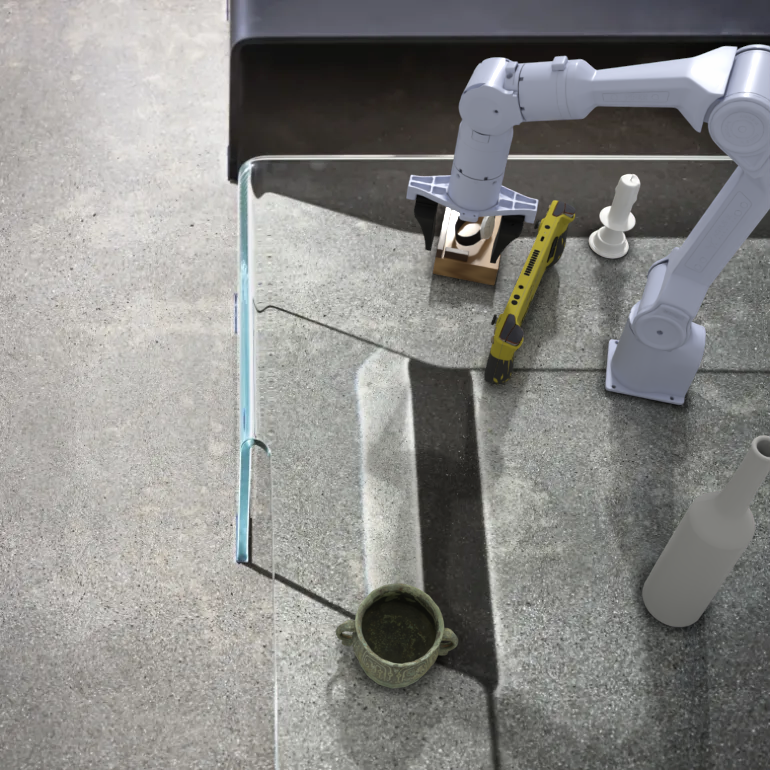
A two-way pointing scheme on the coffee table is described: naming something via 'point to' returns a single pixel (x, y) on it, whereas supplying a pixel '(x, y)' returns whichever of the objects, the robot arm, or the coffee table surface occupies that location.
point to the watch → (483, 233)
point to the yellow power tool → (527, 291)
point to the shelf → (465, 251)
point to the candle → (616, 220)
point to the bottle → (706, 544)
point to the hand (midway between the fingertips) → (461, 251)
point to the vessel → (397, 635)
